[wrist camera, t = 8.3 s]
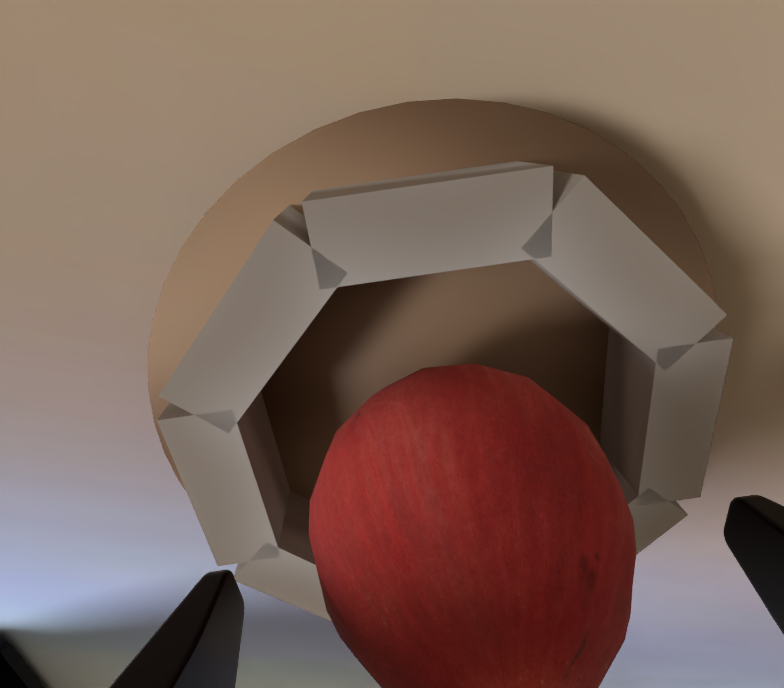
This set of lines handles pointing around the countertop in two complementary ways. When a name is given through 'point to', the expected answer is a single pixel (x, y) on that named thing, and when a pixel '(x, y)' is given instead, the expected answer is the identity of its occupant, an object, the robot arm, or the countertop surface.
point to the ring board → (428, 313)
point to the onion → (473, 536)
